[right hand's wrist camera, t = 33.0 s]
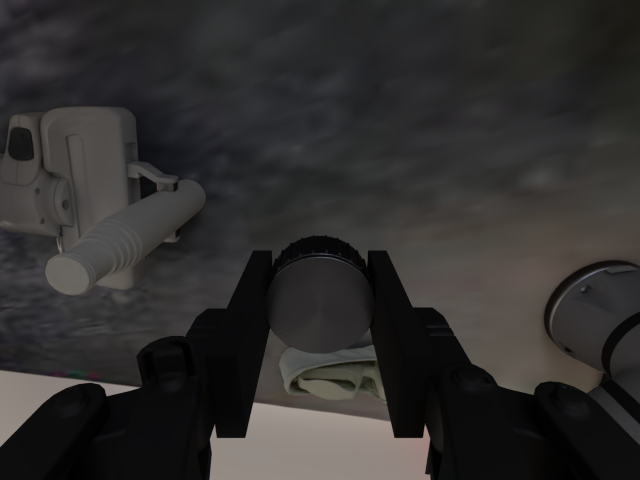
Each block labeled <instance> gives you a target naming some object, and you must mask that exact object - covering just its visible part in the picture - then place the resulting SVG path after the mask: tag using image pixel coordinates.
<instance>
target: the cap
mask: <svg viewBox="0 0 640 480" xmlns="http://www.w3.org/2000/svg"><path fill="white" fill-rule="evenodd" d="M266 289H267V290H266V294H265V314H266V319H267V322H268V324H269V326H270V328H271V329H272V331H273V332H274V334H275V335H276V336H277V337H278V338H279V339H280V340H282V341H283V342H284V343H286V344H287V345H289V346H290V347H293V348H295V349H297V350H300V351H303V352H307V353H314V354H325V353H332V352H337V351H340V350H343V349H345V348H347V347H349V346H351V345H352V344H354V343H356V342H357V341H358V340H359V339H360V338H361V337H362V336H363V335H364V334H365V333H366V332H367V330H368V329H369V327H370V325H371V323H372V321H373V318H374V310H375V296H374V292H373V289H374V286H373V282H372V279H371V276H370V272H369V269H368V268H367V266H366V263H365V259H362V257H361V256H360V254H359V252H358V250H355V249H354V248H353V247H351V246H350V245H349V243H345V242H344V241H341V240H339V238H333V237H327V235H325V236H315V235H313V236H312V237H307V238H301V240H298V241H296V242H294V243H290V246H288V247H287V248H286V249H285V250H282V251H281V254H280V255H279V257H278V258H277V259H275V261H274V265H273V268H271V272H270V275H269V278H268V282H267V285H266Z"/></svg>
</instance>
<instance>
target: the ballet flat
mask: <svg viewBox="0 0 640 480" xmlns="http://www.w3.org/2000/svg"><path fill="white" fill-rule="evenodd" d="M279 370H280V374H281V377H282V381H283V384H284V387H285V389H286V391H287V392H288V393H289V394H290V395H296V396H297V395H309V394H314V395H316V396H318V397H320V398H324V399H328V400H342V399H354V398H356V396H357V393H370V395H371V396H372V397H373V398H374V399H376V400H381V401H382V402H383V403H387V402H386V398H385V393H384V389H383V384H382V380H381V375H380V371H379V367H378V362H377V358H376V353H375V349H374V345H370V346H367V347H363V348H355V349H343V350H340V351H337V352H332V353H325V354H314V353H307V352H303V351H300V350H297V349H295V348H293V347H289V348H288V349H286V350H285V351H284V353H283V354H282V356H281V359H280V363H279ZM371 393H372V394H371ZM375 394H379V395H380V396H379V397H378V396H377V395H375Z"/></svg>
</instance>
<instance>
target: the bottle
mask: <svg viewBox="0 0 640 480" xmlns="http://www.w3.org/2000/svg"><path fill="white" fill-rule="evenodd" d="M205 202H206V195H205V191H204V189H203V188H202V187H201V185H199V184H198V183H197V182H195V181H193V180H190V179H183V180H180V181H178V190H176V191H175V192H167V191H166V190H165V191H158V192H156V193H154V194H152V195H150V196H148V197H146V198H144V199H142V200H140V201H138V202H136V203H134V204H132V205H130V206H128V207H126V208H124V209H122V210H120V211H118V212H116V213H114V214H112V215H110V216H108V217H106V218H104V219H102V220H100V221H98V222H97V223H95V224H94V225H93V226H91V227H90V228H89V229H88V230H87V231H86V232H85V233H84V234H83V235H82V237H80V238H79V240H78V241H77V242H76V243H75V244H74V245H73V247H72V248H71V249H69V250H68V251H66V252H64V253H60V254H58V255H56V256H54V257H52V258H51V259H50V260H49V261H48V264H47V266H46V270H45V273H46V277H47V280H48V282H49V283H50V284H51V286H52V287H54V288H55V289H56V290H57V291H59V292H61V293H63V294H67V295H78V294H83V293H85V292H87V291H88V290H89V289H91V288H92V287H93V286H94V285H95V283H96V282H98V281H99V280H100V279H104V278H107V277H109V276H112V275H115V274H118V273H120V272H123V271H125V270H127V269H129V268H131V267H133V266H134V265H136V264H137V263H138V262H139V261H140V260H142V259H143V258H144V257H145V256H146V255H147V254H149V253H150V252H151V251H152V250H153V249H155V248H156V247H157V246H158V245H159V244H161V243H162V242H163V241H164V240H165V239H167V238H168V237H169V236H170V235H171V234H173V233H174V232H175V231H176V230H177V229H178V228H180V227H181V226H182V225H183V224H184V223H186V222H187V221H188V220H189V219H190V218H192V217H193V216H194V215H195V214H196V213H198V212H199V211H200V210H201V209H202V208H203V207H204V205H205Z"/></svg>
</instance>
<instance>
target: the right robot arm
mask: <svg viewBox="0 0 640 480" xmlns="http://www.w3.org/2000/svg"><path fill="white" fill-rule="evenodd" d="M271 268H273V267H272V251H253V253H252V255H251V257H250V259H249V261H248V263H247V266H246V268H245V270H244V272H243V274H242V276H241V278H240V281H239V283H238V285H237V287H236V289H235V291H234V294H233V296H232V298H231V300H230V302H229V304H228V307H227V309H206V310H205V311H204V312H202V313H201V314H200V315H199V316H197V317H196V319H195V320H194V322H193V324H192V326H191V329H189V331H188V332H187V334H186V337H184V336H170V337H165V338H161V339H158V340H156V341H154V342H152V343H150V344H148V345H147V346H146V347H144V348H143V349H142V350H141V351H140V352H139V354H138V355H137V356H136V357H137V361H138V366H139V370H140V375H141V379H142V383H143V385H142V387H141V388H138V389H135V390H132V391H128V392H124V393H119V394H115V395H111V396H106V393H105V389H104V388H103V387H102V386H100V385H99V384H94V383H84V384H78V385H75V386H72V387H69V388H66V389H64V390H62V391H60V392H58V393H57V394H55V395H53V396H52V397H51V398H49V399H48V400H47V401H46V402H44V403H43V404H42V405H41V406H40V407H39V408H38V409H37V410H36V411H35V412H34V413H33V414H32V415H31V416H30V417H29V418H28V419H27V420H26V421H25V423H23V425H22V426H21V427H20V428H19V429H18V430H17V431H16V432H15V433H14V434H13V435H12V436H11V437H10V438H9V439H8V440H7V441H6V442H5V443H4V444H3V445H2V446H1V447H0V480H209V478H210V466H211V456H212V452H211V445H210V437H211V434H212V431H213V428H214V425H215V428H216V435H217V438H245V436H246V432H247V428H248V423H249V419H250V414H251V410H252V405H253V401H254V397H255V392H256V388H257V383H258V379H259V374H260V370H261V366H262V361H263V357H264V352H265V348H266V343H267V339H268V335H269V330H270V326H269V324H268V322H267V319H266V314H265V294H266V290H267V289H266V285H267V282H268V278H269V275H270V272H271ZM367 268H368V269H369V272H370V276H371V279H372V282H373V286H374V289H373V292H374V296H375V310H374V318H373V321H372V323H371V325H370V331H371V335H372V340H373V344H374V349H375V353H376V358H377V362H378V367H379V371H380V375H381V380H382V384H383V389H384V393H385V398H386V402H387V406H388V411H389V415H390V420H391V424H392V428H393V433H394V437H395V438H423V433H424V426H425V424H426V427H427V430H428V433H429V436H430V445H429V451H428V458H427V465H426V472H425V474H428V475H429V474H430V477H431V480H640V267H639V266H637V265H635V264H633V263H630V262H625V261H604V262H599V263H595V264H592V265H589V266H587V267H584V268H582V269H580V270H578V271H577V272H575V273H573V274H572V275H571V276H569V277H568V278H567V279H565V280H564V281H563V282H562V283H561V284H560V285H559V286H558V287H557V289H556V290H555V291H554V292H553V294H552V296H551V297H550V299H549V301H548V303H547V306H546V309H545V314H544V324H545V329H546V332H547V334H548V336H549V337H550V339H551V340H552V341H553V342H554V343H555V344H556V345H557V346H558V347H559V348H560V349H561V350H562V351H563V352H564V353H566V354H567V355H569V356H571V357H573V358H575V359H577V360H579V361H581V362H583V363H585V364H587V365H589V366H591V367H593V368H596V369H598V370H600V371H602V372H604V374H603V378H602V381H601V383H600V385H599V386H598V387H596V388H594V389H593V390H591V391H590V392H588V393H585V392H583V391H581V390H579V389H577V388H575V387H573V386H570V385H567V384H564V383H560V382H551V381H549V382H544V383H540V384H539V385H538V386H537V387H536V388H535V392H534V395H531V394H527V393H522V392H518V391H514V390H510V389H506V388H503V387H500V386H498V385H497V383H496V381H495V380H494V378H493V377H492V376H491V375H490V374H489V373H488V372H486V371H485V370H484V369H482V368H480V367H478V366H476V365H473V364H472V363H471V362H470V360H469V358H468V357H467V355H466V353H465V352H464V350H463V348H462V346H461V345H460V343H459V341H458V340H457V338H456V336H454V333H453V331H452V330H451V328H449V325H448V323H447V321H446V319H445V318H444V316H443V315H441V314H440V313H439V312H438V311H436V310H435V309H434V308H413V307H412V305H411V303H410V301H409V298H408V296H407V294H406V292H405V290H404V288H403V285H402V283H401V281H400V279H399V277H398V275H397V273H396V270H395V268H394V266H393V264H392V262H391V260H390V257H389V255H388V253H387V251H368V263H367Z"/></svg>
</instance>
